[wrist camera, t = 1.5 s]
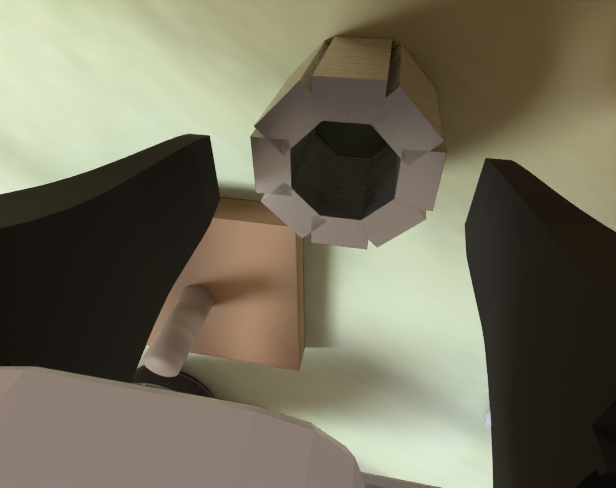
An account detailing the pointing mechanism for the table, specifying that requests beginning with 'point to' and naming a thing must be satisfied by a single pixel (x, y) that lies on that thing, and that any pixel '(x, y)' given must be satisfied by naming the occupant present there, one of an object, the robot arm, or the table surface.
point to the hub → (343, 169)
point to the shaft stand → (235, 295)
